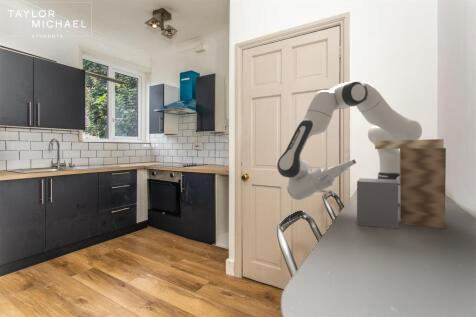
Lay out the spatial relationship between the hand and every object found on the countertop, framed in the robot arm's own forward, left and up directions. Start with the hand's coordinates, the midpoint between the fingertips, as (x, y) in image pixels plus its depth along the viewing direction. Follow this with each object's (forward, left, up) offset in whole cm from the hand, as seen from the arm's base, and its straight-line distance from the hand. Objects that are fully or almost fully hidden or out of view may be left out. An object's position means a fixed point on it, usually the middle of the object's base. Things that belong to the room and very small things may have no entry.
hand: (354, 161), depth 98 cm
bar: (+9, +15, +5) cm, 18 cm away
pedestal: (+11, +18, -21) cm, 30 cm away
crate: (+11, +3, -21) cm, 24 cm away
